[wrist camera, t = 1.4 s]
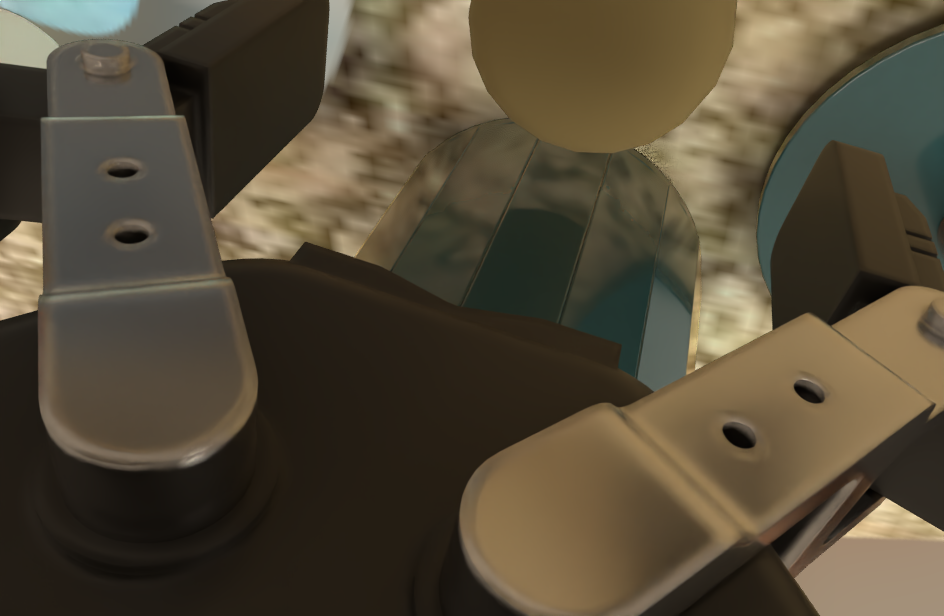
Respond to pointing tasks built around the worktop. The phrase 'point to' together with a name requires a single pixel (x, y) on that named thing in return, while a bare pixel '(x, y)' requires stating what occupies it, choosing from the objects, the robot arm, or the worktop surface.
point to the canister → (552, 242)
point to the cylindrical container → (23, 42)
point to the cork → (600, 65)
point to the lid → (870, 135)
